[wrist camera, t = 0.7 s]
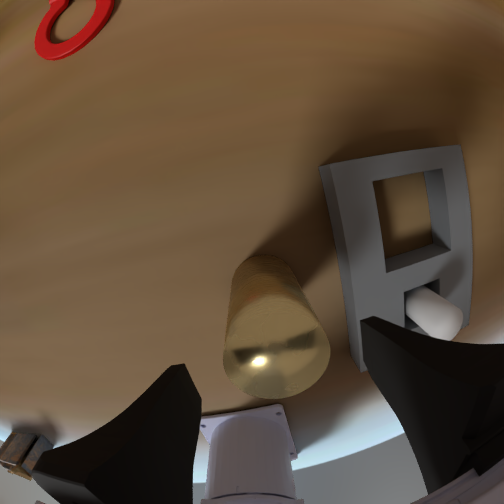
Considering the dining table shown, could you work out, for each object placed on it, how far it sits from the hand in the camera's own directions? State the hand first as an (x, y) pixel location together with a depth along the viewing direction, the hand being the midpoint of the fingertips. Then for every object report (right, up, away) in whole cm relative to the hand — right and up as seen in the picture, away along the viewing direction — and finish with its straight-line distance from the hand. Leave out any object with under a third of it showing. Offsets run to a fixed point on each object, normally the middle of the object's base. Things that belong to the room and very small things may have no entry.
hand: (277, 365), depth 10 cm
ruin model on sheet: (-35, -24, +15) cm, 45 cm away
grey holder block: (+11, +4, +9) cm, 15 cm away
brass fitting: (0, +2, +9) cm, 9 cm away
